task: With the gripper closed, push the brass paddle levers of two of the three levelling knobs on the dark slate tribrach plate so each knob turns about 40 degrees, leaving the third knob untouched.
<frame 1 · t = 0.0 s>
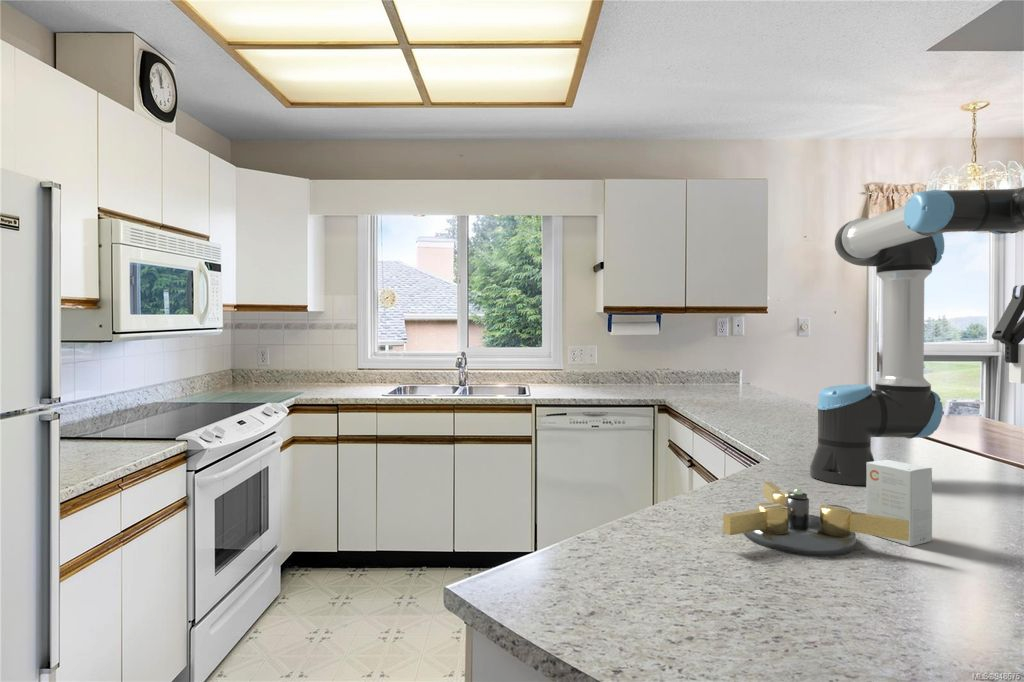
small box: (898, 538, 108), on the countertop
knob A: (778, 498, 117), point 4 cm above the countertop, hinge at 0.0°
knob B: (862, 523, 101), point 4 cm above the countertop, hinge at 0.0°
tribrach plate: (797, 537, 107), on the countertop
knob C: (755, 520, 103), point 4 cm above the countertop, hinge at 0.0°
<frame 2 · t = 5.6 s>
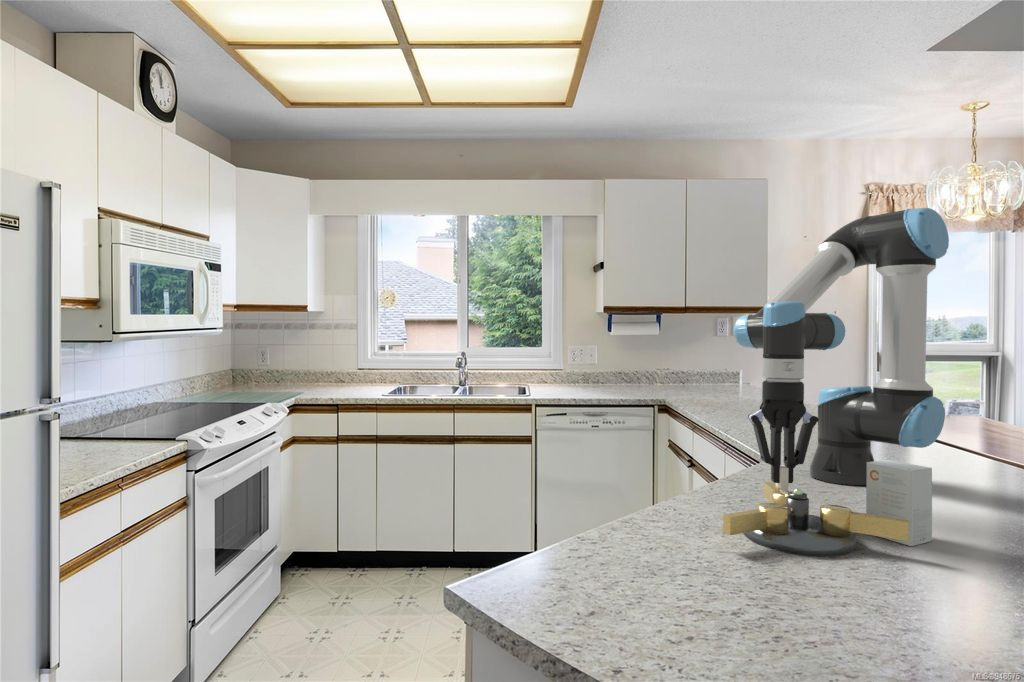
hand: (781, 499, 120), 4 cm above the countertop, fingers closed
knob A: (778, 498, 117), point 4 cm above the countertop, hinge at 0.0°, touching gripper
everything else where it was.
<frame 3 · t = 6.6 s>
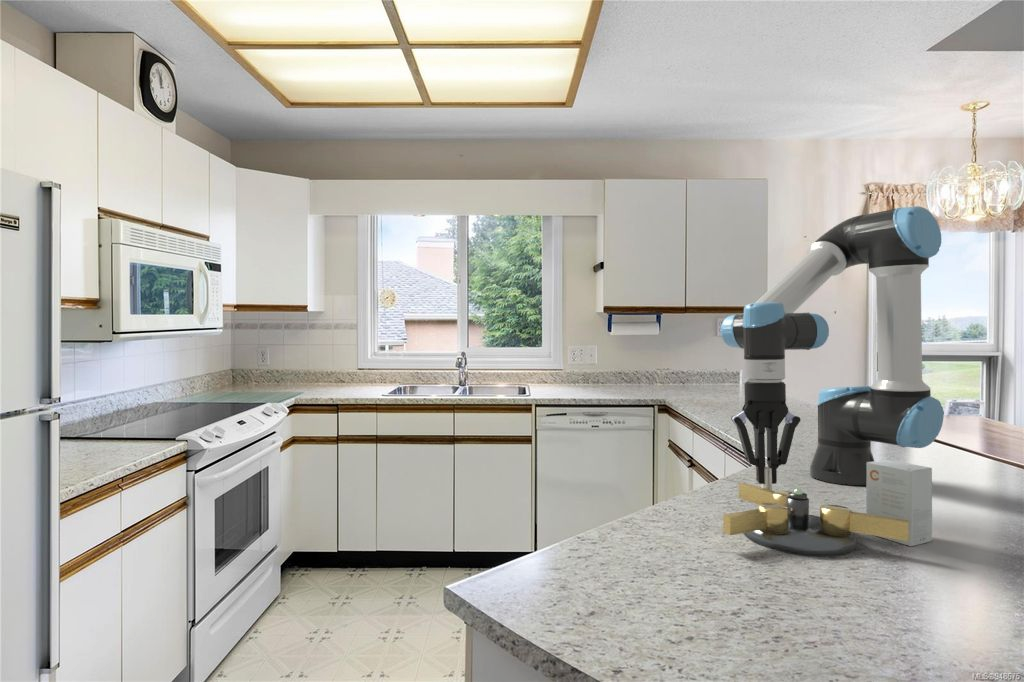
hand: (766, 499, 120), 3 cm above the countertop, fingers closed
knob A: (767, 498, 117), point 4 cm above the countertop, hinge at 32.1°, touching gripper
everything else where it was.
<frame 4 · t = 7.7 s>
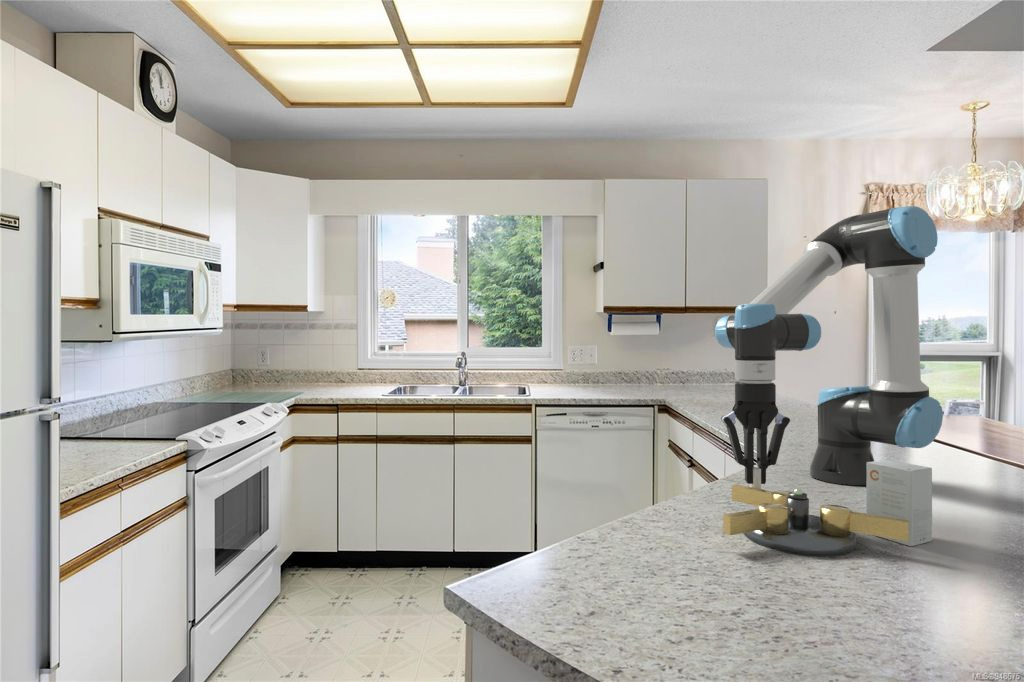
hand: (755, 499, 120), 3 cm above the countertop, fingers closed
knob A: (764, 499, 116), point 4 cm above the countertop, hinge at 45.1°, touching gripper
everything else where it was.
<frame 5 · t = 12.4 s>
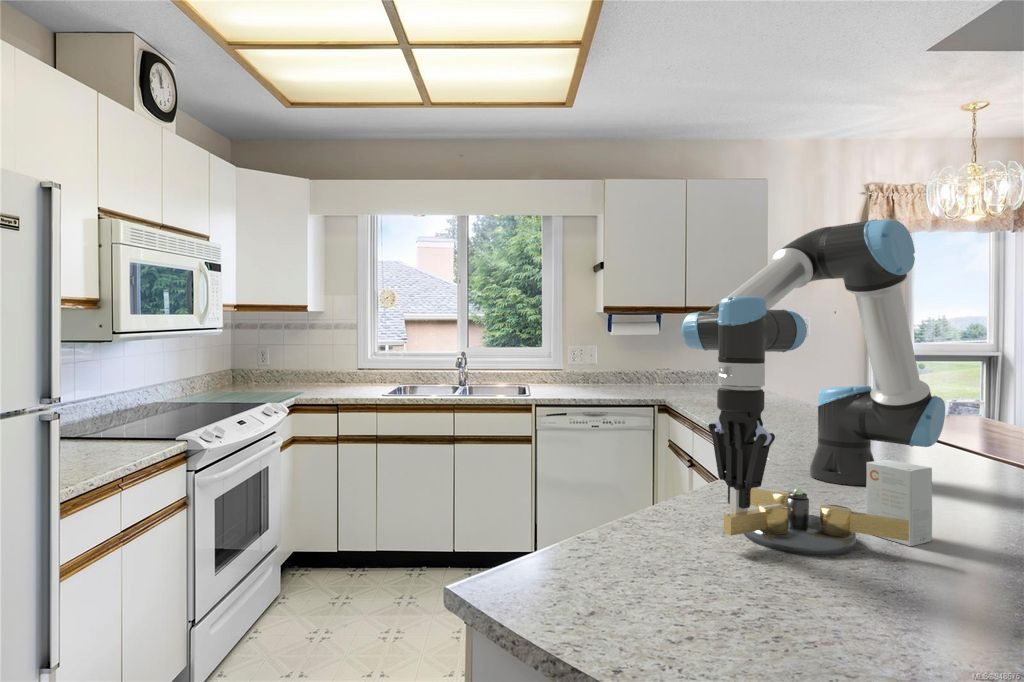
hand: (738, 525, 103), 3 cm above the countertop, fingers closed
knob A: (764, 499, 116), point 4 cm above the countertop, hinge at 45.9°
knob C: (755, 520, 103), point 4 cm above the countertop, hinge at 0.8°, touching gripper
everything else where it was.
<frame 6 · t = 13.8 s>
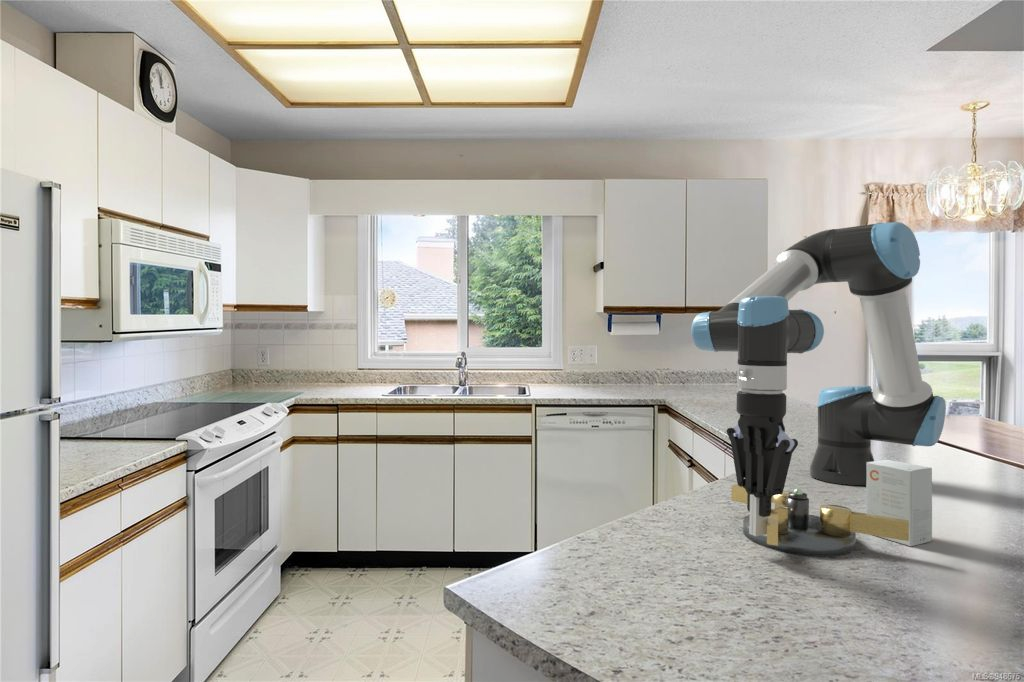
hand: (758, 533, 99), 3 cm above the countertop, fingers closed
knob C: (772, 524, 101), point 4 cm above the countertop, hinge at 41.9°, touching gripper
everything else where it was.
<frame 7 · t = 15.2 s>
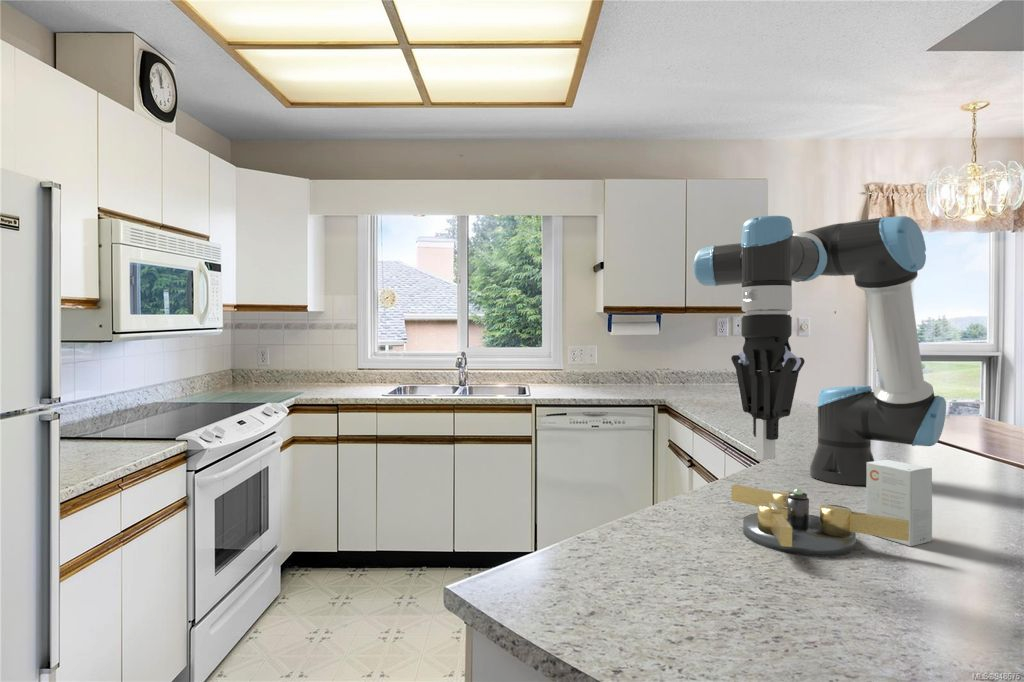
hand: (765, 458, 98), 16 cm above the countertop, fingers closed
knob C: (777, 524, 101), point 4 cm above the countertop, hinge at 53.1°
everything else where it was.
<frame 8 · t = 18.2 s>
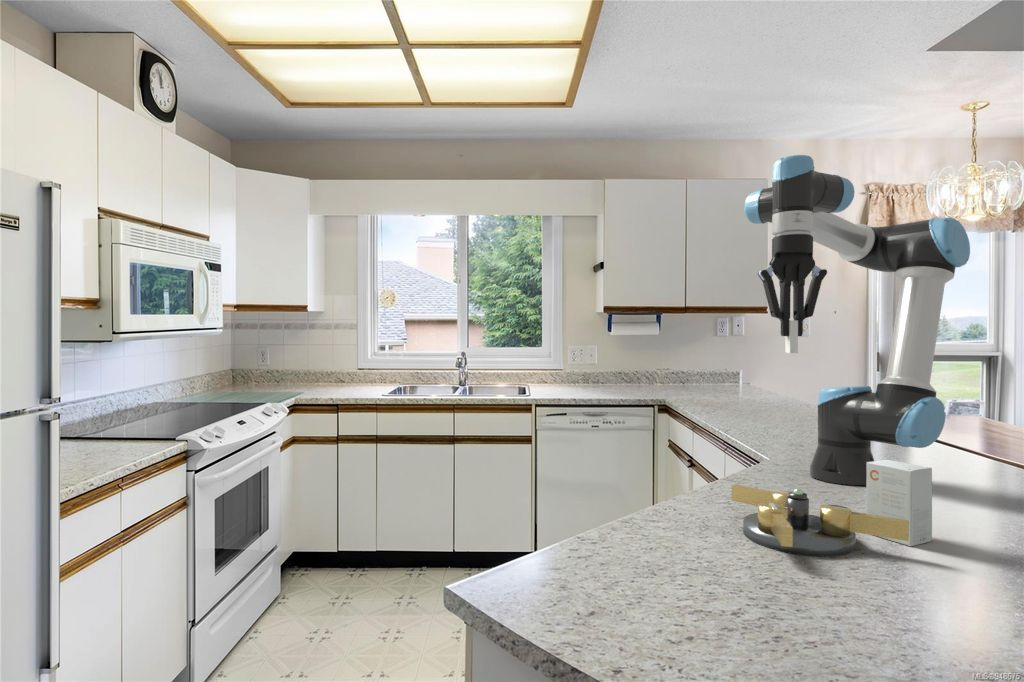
hand: (791, 352, 122), 32 cm above the countertop, fingers closed
knob C: (778, 524, 101), point 4 cm above the countertop, hinge at 53.4°
everything else where it was.
at the end: knob A at +46° (first picture: +0°); knob C at +53° (first picture: +0°); knob B at +0° (first picture: +0°) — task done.
